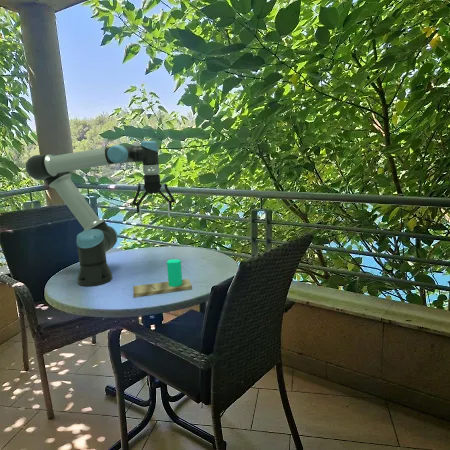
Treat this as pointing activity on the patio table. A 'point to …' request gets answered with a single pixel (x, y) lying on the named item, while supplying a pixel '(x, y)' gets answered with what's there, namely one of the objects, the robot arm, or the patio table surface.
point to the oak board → (159, 288)
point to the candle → (174, 272)
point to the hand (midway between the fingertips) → (155, 217)
